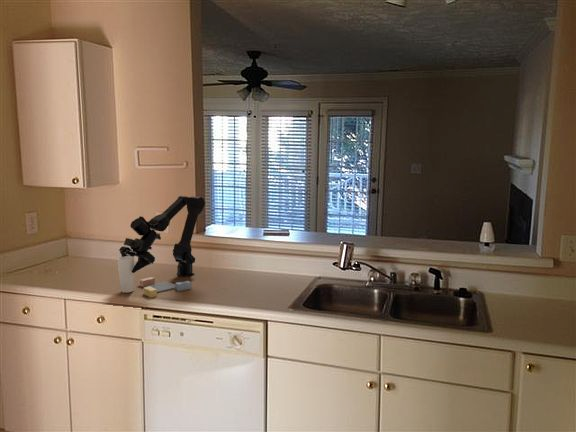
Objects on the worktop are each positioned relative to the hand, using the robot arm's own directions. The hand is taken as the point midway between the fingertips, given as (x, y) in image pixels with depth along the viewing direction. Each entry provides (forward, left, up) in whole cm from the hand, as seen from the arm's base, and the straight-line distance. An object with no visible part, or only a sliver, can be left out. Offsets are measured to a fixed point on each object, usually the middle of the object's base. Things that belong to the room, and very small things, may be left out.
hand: (125, 270), depth 207 cm
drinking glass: (0, 0, -10) cm, 10 cm away
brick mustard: (-5, +11, -10) cm, 16 cm away
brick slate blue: (-20, +13, -10) cm, 26 cm away
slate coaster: (-14, +5, -9) cm, 18 cm away
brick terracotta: (-11, -3, -10) cm, 15 cm away
